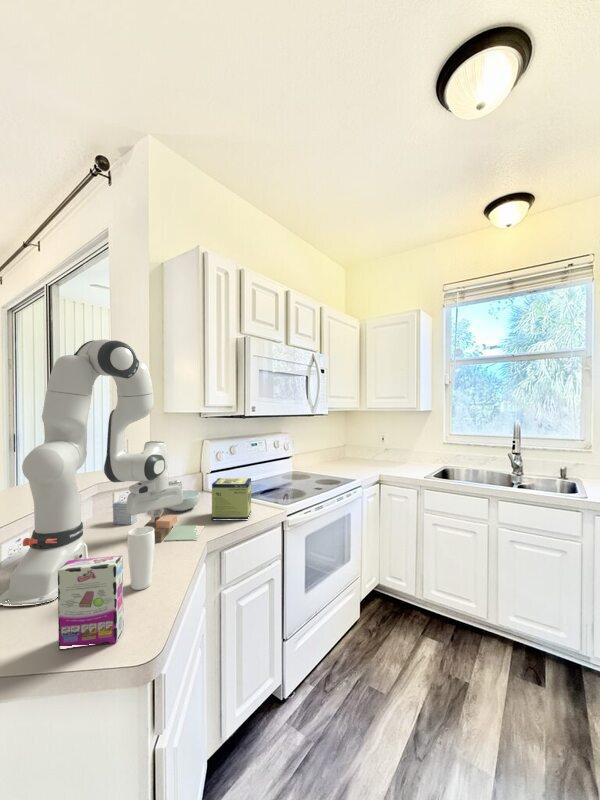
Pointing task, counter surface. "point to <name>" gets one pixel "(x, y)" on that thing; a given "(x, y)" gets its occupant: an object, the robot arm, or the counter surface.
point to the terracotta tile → (166, 521)
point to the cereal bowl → (187, 500)
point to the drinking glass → (141, 556)
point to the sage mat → (182, 533)
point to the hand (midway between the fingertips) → (156, 521)
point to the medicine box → (122, 514)
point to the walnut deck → (159, 531)
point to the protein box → (231, 498)
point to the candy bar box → (90, 601)
